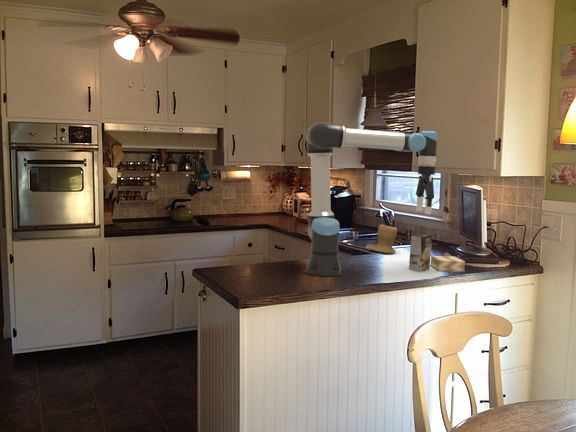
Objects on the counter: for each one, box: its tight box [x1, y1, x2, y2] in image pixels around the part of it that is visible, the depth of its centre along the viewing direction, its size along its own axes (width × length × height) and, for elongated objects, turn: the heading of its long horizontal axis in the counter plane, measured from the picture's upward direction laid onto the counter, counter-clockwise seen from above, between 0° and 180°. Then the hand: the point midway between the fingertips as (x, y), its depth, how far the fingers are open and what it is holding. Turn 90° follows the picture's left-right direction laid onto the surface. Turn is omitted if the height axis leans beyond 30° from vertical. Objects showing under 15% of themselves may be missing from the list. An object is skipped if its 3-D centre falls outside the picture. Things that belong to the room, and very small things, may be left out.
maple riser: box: [430, 255, 466, 273], centre depth 259 cm, size 12×12×5 cm
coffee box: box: [408, 233, 433, 273], centre depth 254 cm, size 9×6×16 cm
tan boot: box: [365, 224, 398, 254], centre depth 298 cm, size 15×12×15 cm
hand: (423, 212), depth 252 cm, fingers open, 13 cm apart
